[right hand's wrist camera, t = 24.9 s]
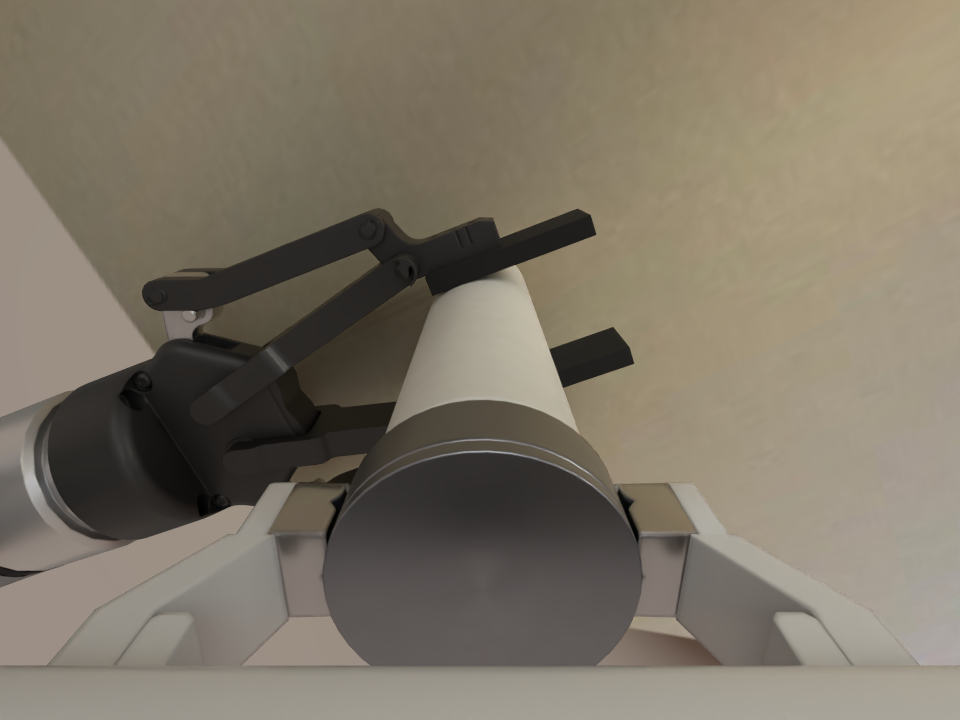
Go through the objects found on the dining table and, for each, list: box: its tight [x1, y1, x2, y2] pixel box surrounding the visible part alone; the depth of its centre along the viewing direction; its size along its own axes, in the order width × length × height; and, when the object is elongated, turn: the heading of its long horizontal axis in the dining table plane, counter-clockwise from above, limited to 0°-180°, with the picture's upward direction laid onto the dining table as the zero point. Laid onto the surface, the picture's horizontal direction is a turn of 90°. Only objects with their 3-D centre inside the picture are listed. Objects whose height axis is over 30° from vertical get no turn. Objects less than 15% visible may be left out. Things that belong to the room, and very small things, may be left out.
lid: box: [323, 400, 643, 666], centre depth 9 cm, size 5×5×2 cm
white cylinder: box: [386, 265, 579, 434], centre depth 19 cm, size 5×5×20 cm
